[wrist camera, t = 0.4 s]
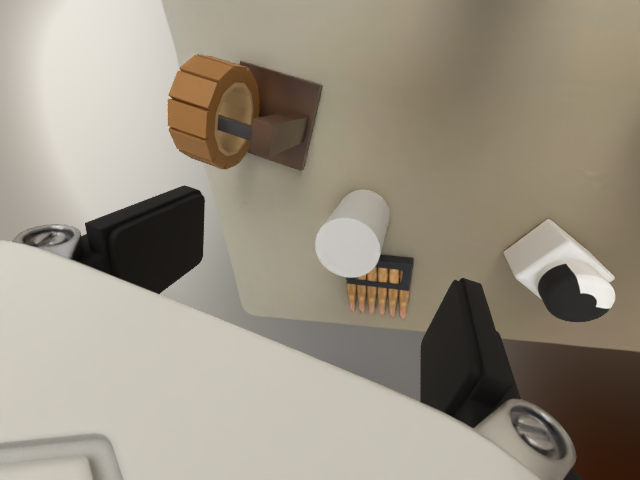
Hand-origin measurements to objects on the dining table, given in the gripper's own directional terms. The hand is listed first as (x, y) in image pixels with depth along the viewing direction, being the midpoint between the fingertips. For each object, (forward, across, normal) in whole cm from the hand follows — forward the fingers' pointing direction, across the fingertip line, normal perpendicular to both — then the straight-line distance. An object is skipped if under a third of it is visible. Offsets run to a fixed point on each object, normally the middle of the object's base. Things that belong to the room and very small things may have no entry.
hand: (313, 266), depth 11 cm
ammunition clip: (+35, -3, +17) cm, 39 cm away
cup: (+36, +1, +12) cm, 38 cm away
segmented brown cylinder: (+26, +21, +1) cm, 34 cm away
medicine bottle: (+36, -24, +9) cm, 44 cm away
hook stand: (+36, +18, +1) cm, 40 cm away
